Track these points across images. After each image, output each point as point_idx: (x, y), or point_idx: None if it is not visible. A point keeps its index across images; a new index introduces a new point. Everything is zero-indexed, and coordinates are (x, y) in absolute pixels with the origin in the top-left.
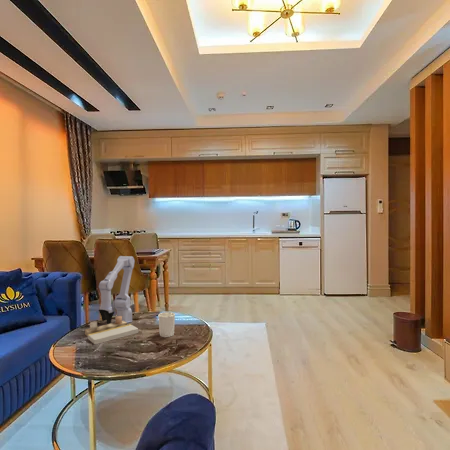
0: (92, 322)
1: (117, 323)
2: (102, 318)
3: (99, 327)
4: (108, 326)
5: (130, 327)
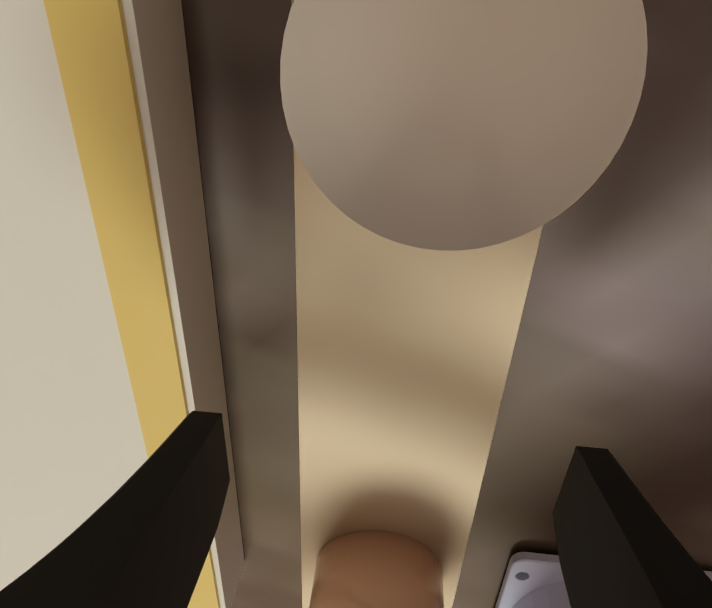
0: (479, 46)
1: (333, 550)
2: (602, 511)
3: None
4: (330, 394)
5: None
